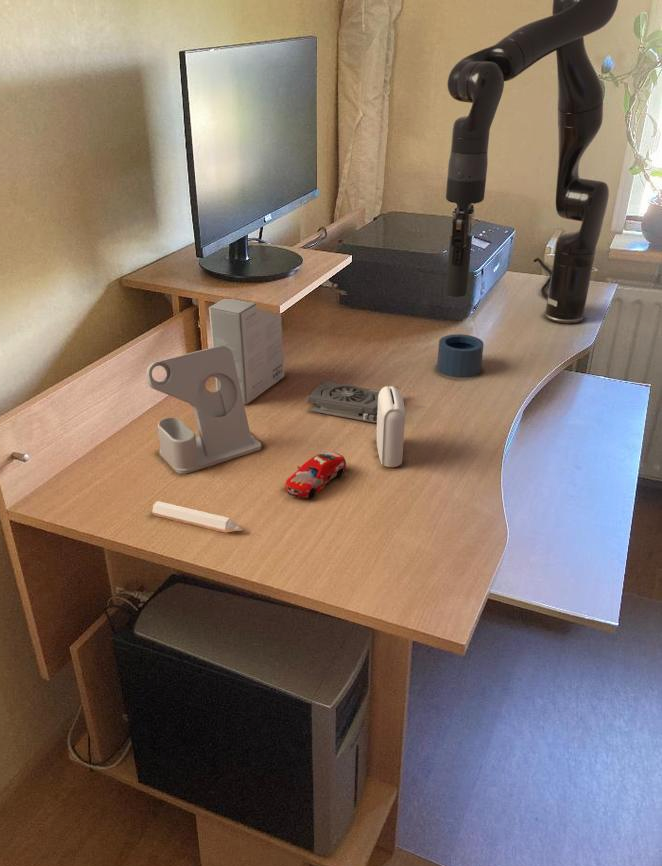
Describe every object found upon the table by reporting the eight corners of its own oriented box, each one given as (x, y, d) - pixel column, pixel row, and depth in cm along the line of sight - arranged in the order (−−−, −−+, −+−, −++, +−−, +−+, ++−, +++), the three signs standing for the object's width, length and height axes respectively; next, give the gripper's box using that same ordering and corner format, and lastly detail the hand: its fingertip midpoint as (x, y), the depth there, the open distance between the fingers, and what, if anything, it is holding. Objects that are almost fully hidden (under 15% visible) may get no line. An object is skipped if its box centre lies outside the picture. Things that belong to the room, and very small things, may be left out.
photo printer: (374, 440, 147) (376, 380, 140) (397, 439, 147) (400, 379, 140) (379, 468, 138) (382, 406, 131) (403, 468, 138) (407, 405, 131)
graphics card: (403, 384, 159) (383, 408, 149) (402, 401, 160) (382, 426, 151) (326, 372, 165) (303, 394, 155) (326, 388, 167) (303, 411, 157)
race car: (303, 505, 129) (303, 485, 127) (279, 494, 132) (278, 473, 130) (351, 471, 137) (352, 452, 135) (327, 462, 140) (327, 442, 138)
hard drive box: (255, 370, 174) (251, 282, 163) (285, 377, 170) (282, 288, 160) (215, 398, 162) (207, 305, 152) (246, 406, 159) (240, 312, 148)
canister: (447, 289, 169) (451, 233, 163) (467, 290, 168) (473, 234, 161) (444, 296, 166) (448, 238, 159) (465, 297, 164) (470, 240, 158)
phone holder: (178, 476, 137) (167, 382, 127) (155, 451, 144) (142, 361, 134) (263, 448, 145) (259, 358, 135) (237, 426, 152) (232, 339, 142)
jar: (440, 359, 177) (442, 332, 174) (482, 364, 175) (486, 336, 171) (433, 376, 170) (435, 348, 166) (477, 381, 167) (481, 353, 164)
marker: (244, 539, 122) (156, 517, 127) (249, 527, 123) (161, 506, 128) (240, 532, 120) (150, 510, 125) (245, 520, 121) (155, 498, 126)
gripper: (482, 184, 147) (473, 273, 156) (489, 168, 159) (480, 253, 168) (442, 182, 149) (435, 270, 158) (452, 167, 160) (445, 250, 170)
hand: (458, 261), depth 163 cm, fingers closed on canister, 4 cm apart
